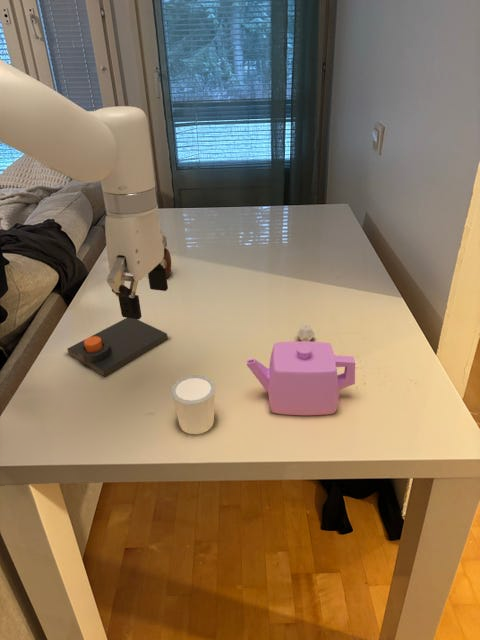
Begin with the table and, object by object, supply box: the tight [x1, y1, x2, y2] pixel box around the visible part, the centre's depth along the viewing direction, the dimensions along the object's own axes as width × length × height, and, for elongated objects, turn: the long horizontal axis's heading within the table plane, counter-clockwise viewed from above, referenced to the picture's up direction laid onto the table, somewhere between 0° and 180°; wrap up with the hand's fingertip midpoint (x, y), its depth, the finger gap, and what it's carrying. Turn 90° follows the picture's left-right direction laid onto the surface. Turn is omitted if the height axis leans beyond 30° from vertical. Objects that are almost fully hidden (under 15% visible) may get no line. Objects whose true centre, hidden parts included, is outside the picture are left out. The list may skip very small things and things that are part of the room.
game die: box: [296, 324, 315, 342], centre depth 95 cm, size 4×4×3 cm
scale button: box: [84, 335, 103, 352], centre depth 90 cm, size 3×3×2 cm
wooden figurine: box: [162, 234, 172, 278], centre depth 120 cm, size 7×6×15 cm
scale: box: [67, 317, 169, 377], centre depth 95 cm, size 17×12×3 cm
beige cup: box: [170, 375, 216, 435], centre depth 74 cm, size 7×7×7 cm
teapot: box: [246, 340, 356, 416], centre depth 78 cm, size 18×10×10 cm, turn 87°
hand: (146, 302), depth 77 cm, fingers open, 9 cm apart
